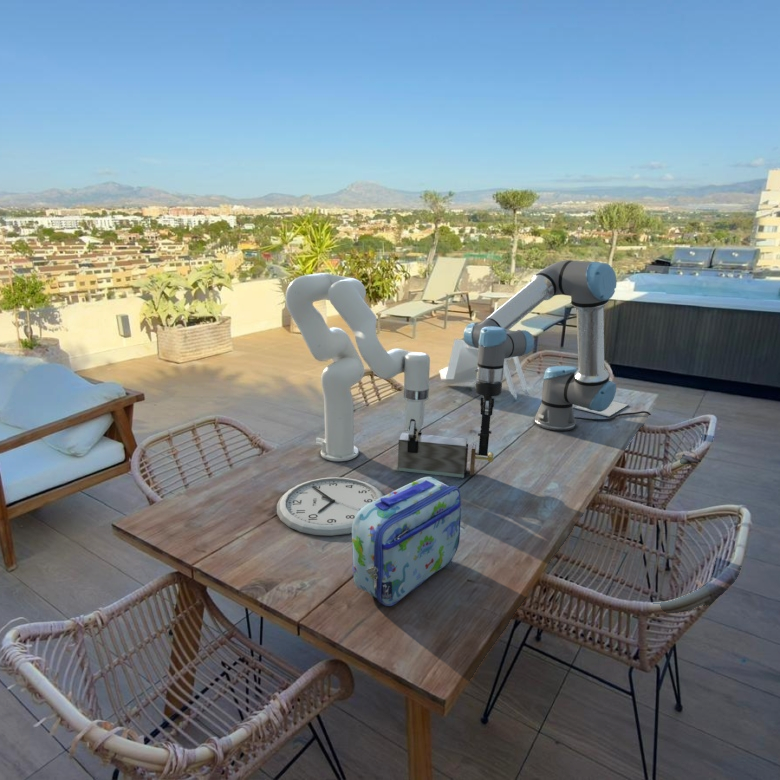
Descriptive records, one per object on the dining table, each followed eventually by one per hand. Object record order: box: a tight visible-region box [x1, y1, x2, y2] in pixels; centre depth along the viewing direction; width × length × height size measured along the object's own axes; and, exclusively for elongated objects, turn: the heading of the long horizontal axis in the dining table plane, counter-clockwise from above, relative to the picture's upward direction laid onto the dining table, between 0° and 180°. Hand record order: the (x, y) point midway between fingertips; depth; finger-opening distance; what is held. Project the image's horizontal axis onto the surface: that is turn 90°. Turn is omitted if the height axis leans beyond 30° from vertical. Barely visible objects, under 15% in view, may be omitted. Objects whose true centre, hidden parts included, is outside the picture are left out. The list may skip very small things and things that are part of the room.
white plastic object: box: [438, 310, 531, 400], centre depth 245 cm, size 37×45×31 cm
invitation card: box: [573, 400, 629, 418], centre depth 226 cm, size 21×1×15 cm
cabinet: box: [397, 432, 468, 479], centre depth 163 cm, size 21×6×10 cm, turn 78°
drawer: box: [464, 442, 494, 476], centre depth 162 cm, size 25×5×9 cm, turn 78°
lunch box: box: [351, 476, 462, 607], centre depth 111 cm, size 26×11×21 cm, turn 135°
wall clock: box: [276, 476, 385, 537], centre depth 142 cm, size 30×2×30 cm
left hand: (414, 447), depth 164 cm, fingers closed on cabinet, 6 cm apart
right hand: (482, 454), depth 159 cm, fingers closed
